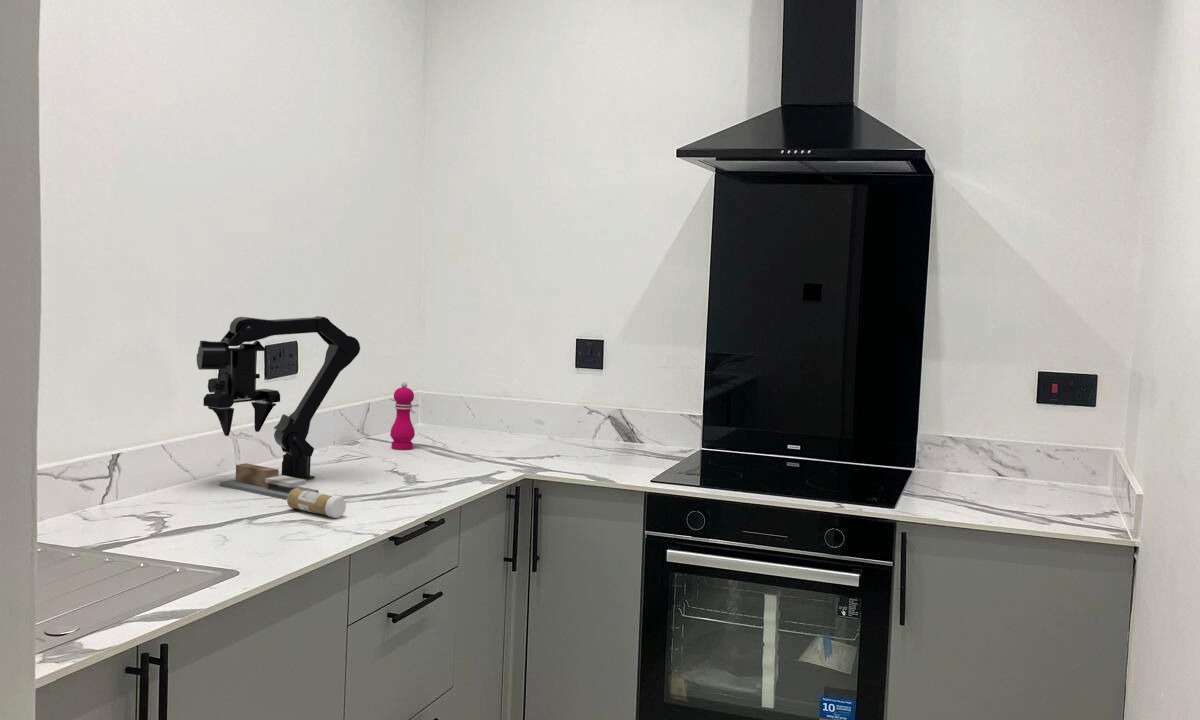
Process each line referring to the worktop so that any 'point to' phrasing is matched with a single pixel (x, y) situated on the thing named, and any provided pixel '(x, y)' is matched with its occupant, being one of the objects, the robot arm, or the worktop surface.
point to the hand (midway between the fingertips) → (242, 433)
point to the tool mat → (264, 489)
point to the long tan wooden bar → (264, 476)
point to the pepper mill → (403, 419)
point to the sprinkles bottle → (316, 503)
